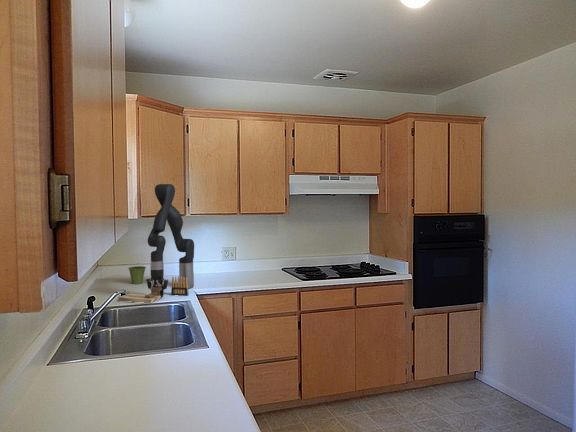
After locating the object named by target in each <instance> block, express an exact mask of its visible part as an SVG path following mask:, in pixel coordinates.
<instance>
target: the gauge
mask: <svg viewBox="0 0 576 432" xmlns="http://www.w3.org/2000/svg"><path fill="white" fill-rule="evenodd" d="M144 295H145V298H150V297H153V296H155V295H157V296H160V288H159V287H158V285H156V286H154V287H152V293H151V292H150V293H147V294H144ZM162 297H163V298H164V295H163V296H162ZM162 297H161V298H162ZM163 298H162V299H163Z"/></svg>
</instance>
